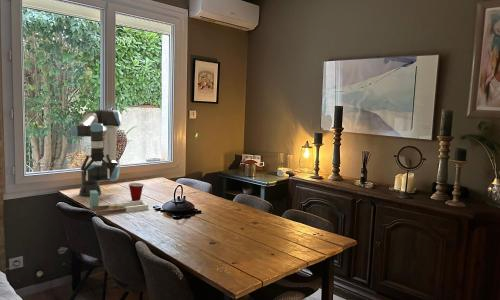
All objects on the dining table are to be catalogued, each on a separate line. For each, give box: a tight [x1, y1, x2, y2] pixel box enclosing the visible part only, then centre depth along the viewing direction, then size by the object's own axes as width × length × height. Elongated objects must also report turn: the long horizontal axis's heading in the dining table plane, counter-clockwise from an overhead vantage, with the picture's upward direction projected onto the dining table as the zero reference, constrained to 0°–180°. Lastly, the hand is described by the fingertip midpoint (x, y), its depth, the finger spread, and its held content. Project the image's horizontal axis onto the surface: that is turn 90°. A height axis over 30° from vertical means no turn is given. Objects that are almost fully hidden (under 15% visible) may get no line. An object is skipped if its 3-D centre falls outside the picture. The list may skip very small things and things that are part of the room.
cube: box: [115, 203, 125, 209], centre depth 249 cm, size 4×4×4 cm
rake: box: [89, 190, 100, 211], centre depth 252 cm, size 8×4×11 cm, turn 32°
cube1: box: [107, 203, 117, 210], centre depth 248 cm, size 4×4×4 cm
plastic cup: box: [128, 182, 145, 202], centre depth 275 cm, size 11×11×12 cm
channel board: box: [92, 202, 127, 217], centre depth 247 cm, size 13×18×2 cm
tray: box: [121, 199, 149, 213], centre depth 255 cm, size 13×14×3 cm
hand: (97, 179), depth 251 cm, fingers open, 13 cm apart
